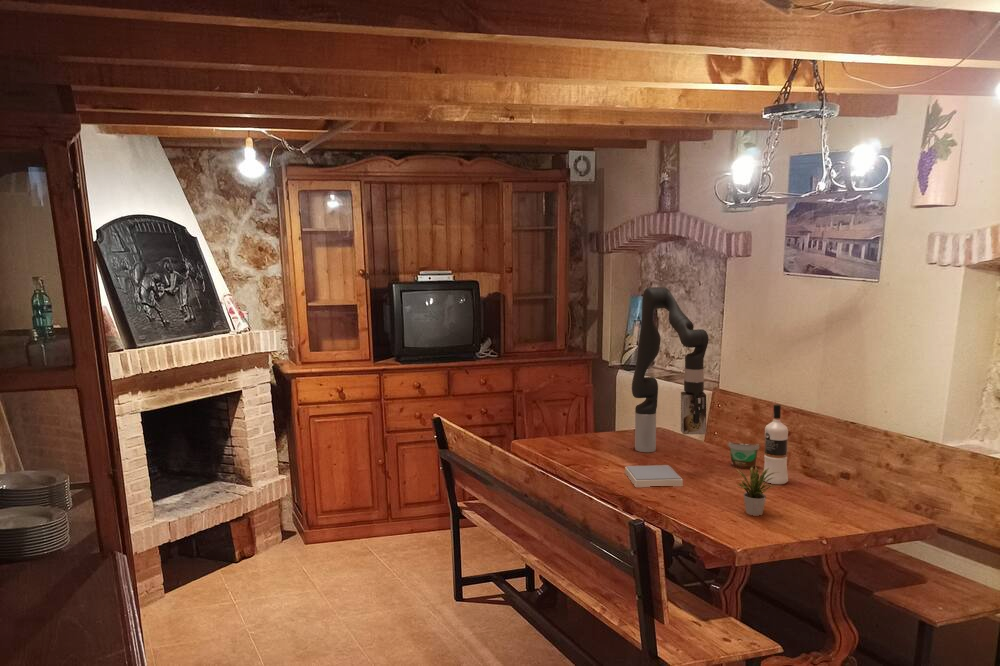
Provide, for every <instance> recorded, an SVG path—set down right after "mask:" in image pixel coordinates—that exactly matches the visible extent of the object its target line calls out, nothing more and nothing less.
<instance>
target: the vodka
mask: <svg viewBox="0 0 1000 666" xmlns="http://www.w3.org/2000/svg"><path fill="white" fill-rule="evenodd" d="M781 410H782V407H781V404H774V405H773V413H772V414H773V415H772V418H773V419H772V421H771V422H769V423H768V424H766V426H765V427H764V455H763V457H764V458H763V459H764V465H763V471H762V473H763V472H764V471H765V470H766V469H768V468H769V469H768V470H767V473H766V475H765V476H764V477H766V476H767V475H769V474H770V473H774V474H772V475H770V476H768V478H766V479H765V480H764V479H763V480H764V481H763V482H764V483H765V482H766V481H767V480H768V479H770V478H772V479H770V480H768V481H767V482H766V484H767V483H768V484H770V483H771V485H785V484H787V483H788V482H789V475H788V468H787V466H788V465H787V464H788V459H789V457H788V439H789V428H788V426H787V425H785V424H784V423H783V422H782V421H781V418H782V417H781V412H782V411H781ZM775 472H777V473H775Z"/></svg>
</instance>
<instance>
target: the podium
mask: <svg viewBox="0 0 1000 666" xmlns="http://www.w3.org/2000/svg"><path fill="white" fill-rule="evenodd" d="M624 474H625V475H626V476H628V477H627V478H628V479H629V480H631V481H630V482H631V483H632V485H633V484H634V485H633V486H634V487H635V488H651V487H650V486H673V487H684V485H683V484H684V479H683V478H682V477H681V476H680V475H679V474H678V473H677V472H676V470H674V469H673V468H672V467H671V466H670V465H668V464H664V465H663V464H662V465H661V464H659V465H626V466H625V467H624Z"/></svg>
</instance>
